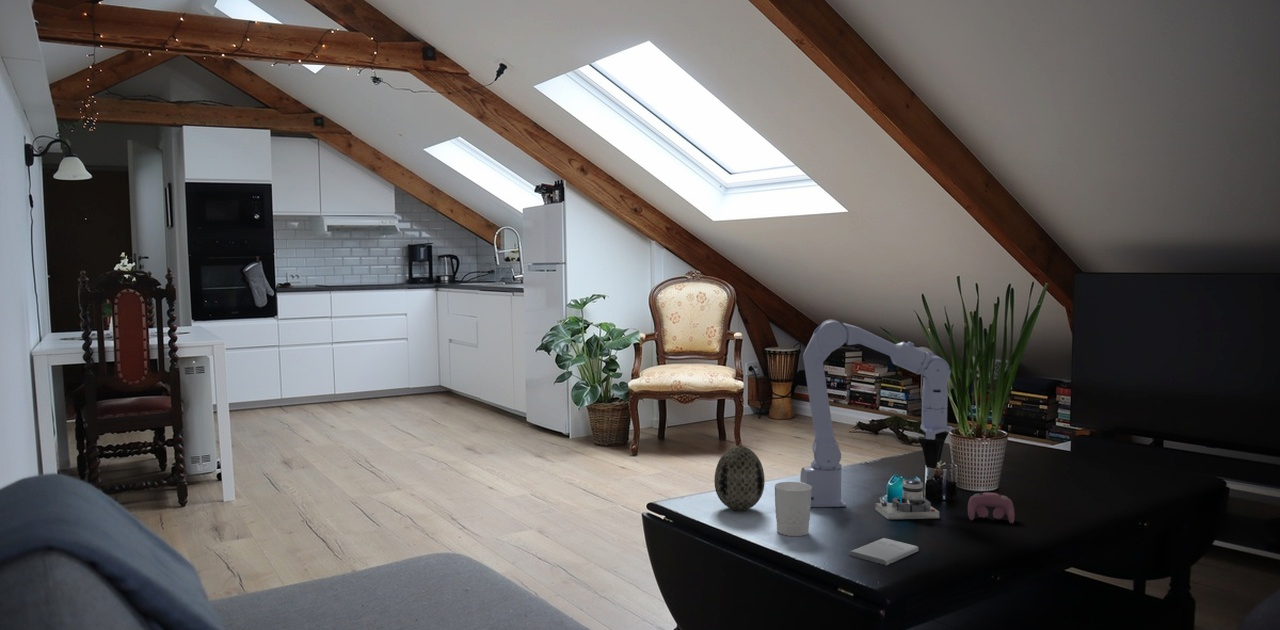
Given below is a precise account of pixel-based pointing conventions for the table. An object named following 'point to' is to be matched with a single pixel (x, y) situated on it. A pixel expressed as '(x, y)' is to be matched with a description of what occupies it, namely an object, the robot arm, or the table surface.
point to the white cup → (793, 508)
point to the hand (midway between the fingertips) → (933, 464)
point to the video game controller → (990, 499)
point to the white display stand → (906, 510)
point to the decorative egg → (739, 478)
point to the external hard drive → (884, 551)
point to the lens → (912, 492)
